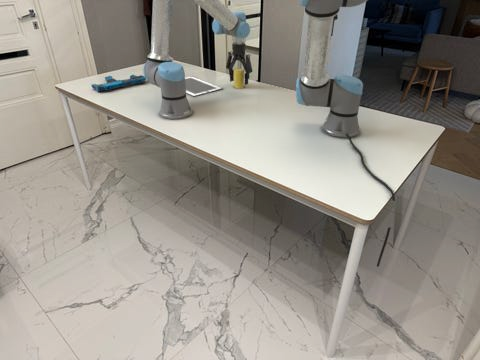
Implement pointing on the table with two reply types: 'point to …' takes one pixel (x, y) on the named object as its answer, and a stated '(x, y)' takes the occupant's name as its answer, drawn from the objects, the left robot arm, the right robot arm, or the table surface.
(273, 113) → the table surface
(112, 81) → the submachine gun
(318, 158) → the table surface
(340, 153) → the table surface
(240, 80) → the cylinder
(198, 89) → the tablet
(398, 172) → the table surface
